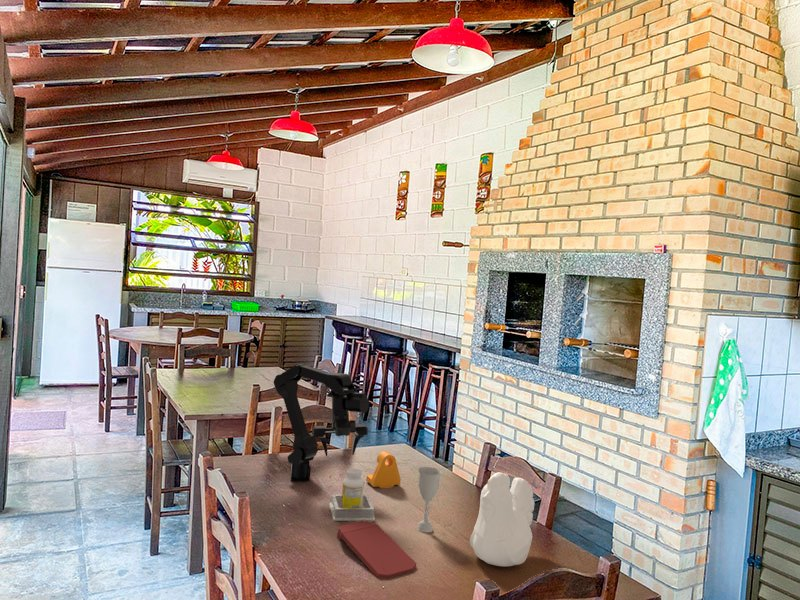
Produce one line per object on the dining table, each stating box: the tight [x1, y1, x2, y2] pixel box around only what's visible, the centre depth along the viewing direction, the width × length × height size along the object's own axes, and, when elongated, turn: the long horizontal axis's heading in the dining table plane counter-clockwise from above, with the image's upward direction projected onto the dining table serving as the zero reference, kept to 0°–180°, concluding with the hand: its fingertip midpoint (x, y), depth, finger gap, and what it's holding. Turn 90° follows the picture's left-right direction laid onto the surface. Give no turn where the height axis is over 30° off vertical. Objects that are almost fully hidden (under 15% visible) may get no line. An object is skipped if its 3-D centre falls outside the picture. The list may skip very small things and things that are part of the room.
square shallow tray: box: [328, 493, 376, 522], centre depth 185 cm, size 13×13×4 cm
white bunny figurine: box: [469, 471, 535, 567], centre depth 163 cm, size 25×16×25 cm, turn 126°
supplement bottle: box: [341, 468, 365, 508], centre depth 185 cm, size 7×7×13 cm
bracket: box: [366, 450, 402, 489], centre depth 213 cm, size 11×7×12 cm, turn 116°
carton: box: [336, 521, 418, 579], centre depth 159 cm, size 12×5×25 cm
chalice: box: [416, 466, 443, 533], centre depth 177 cm, size 7×7×18 cm
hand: (339, 455), depth 203 cm, fingers open, 9 cm apart
